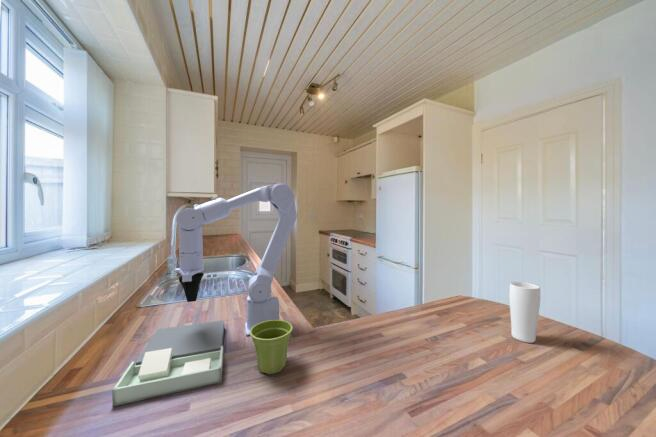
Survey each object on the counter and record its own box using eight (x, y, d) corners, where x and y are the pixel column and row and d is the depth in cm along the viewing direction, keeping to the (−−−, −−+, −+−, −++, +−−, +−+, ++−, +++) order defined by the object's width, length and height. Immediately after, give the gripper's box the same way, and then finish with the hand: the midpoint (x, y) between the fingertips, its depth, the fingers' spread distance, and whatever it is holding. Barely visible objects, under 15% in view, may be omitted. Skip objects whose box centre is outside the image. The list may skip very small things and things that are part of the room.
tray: (223, 357, 59) (223, 345, 59) (221, 382, 51) (221, 368, 51) (132, 375, 53) (132, 361, 53) (112, 406, 44) (112, 390, 44)
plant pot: (254, 385, 50) (254, 343, 49) (247, 360, 58) (246, 324, 58) (298, 371, 54) (298, 332, 54) (285, 350, 62) (285, 316, 62)
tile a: (208, 371, 50) (208, 381, 50) (210, 357, 55) (210, 366, 55) (180, 377, 49) (180, 387, 49) (185, 362, 53) (185, 371, 53)
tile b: (173, 353, 56) (171, 347, 55) (168, 375, 52) (166, 370, 51) (146, 357, 54) (145, 352, 53) (139, 381, 50) (137, 375, 49)
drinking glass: (534, 335, 70) (535, 283, 69) (543, 347, 64) (544, 290, 63) (505, 330, 73) (506, 280, 72) (511, 341, 67) (512, 286, 66)
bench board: (224, 328, 74) (224, 320, 74) (221, 357, 59) (221, 347, 59) (157, 338, 68) (157, 329, 68) (135, 373, 53) (135, 362, 53)
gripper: (180, 249, 73) (181, 294, 74) (167, 257, 60) (168, 312, 60) (206, 247, 76) (207, 291, 76) (200, 255, 62) (200, 308, 63)
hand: (192, 300), depth 68 cm, fingers closed
